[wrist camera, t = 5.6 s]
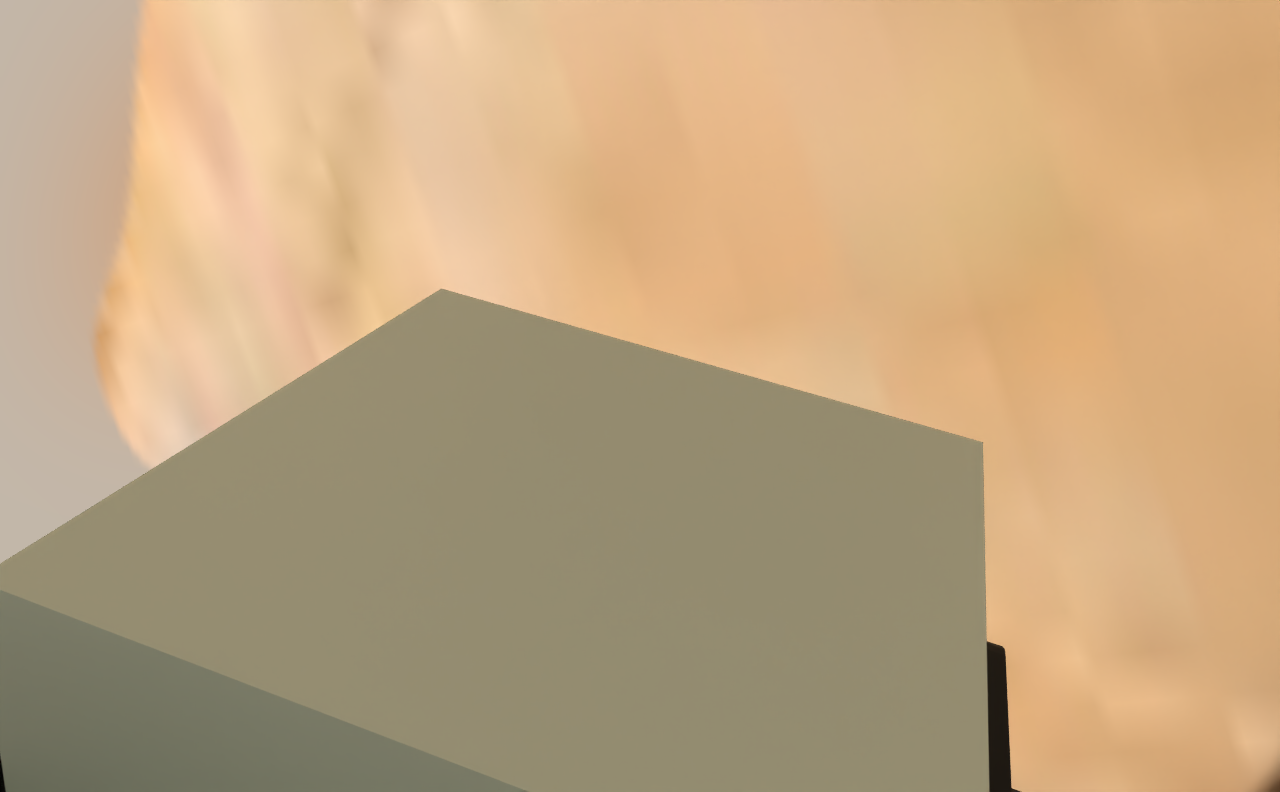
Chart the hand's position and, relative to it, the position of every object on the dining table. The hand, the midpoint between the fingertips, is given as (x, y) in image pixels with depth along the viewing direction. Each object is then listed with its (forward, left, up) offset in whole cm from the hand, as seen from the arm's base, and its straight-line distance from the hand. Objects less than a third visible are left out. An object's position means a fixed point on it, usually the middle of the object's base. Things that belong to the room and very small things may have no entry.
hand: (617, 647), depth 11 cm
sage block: (0, 0, -1) cm, 1 cm away
